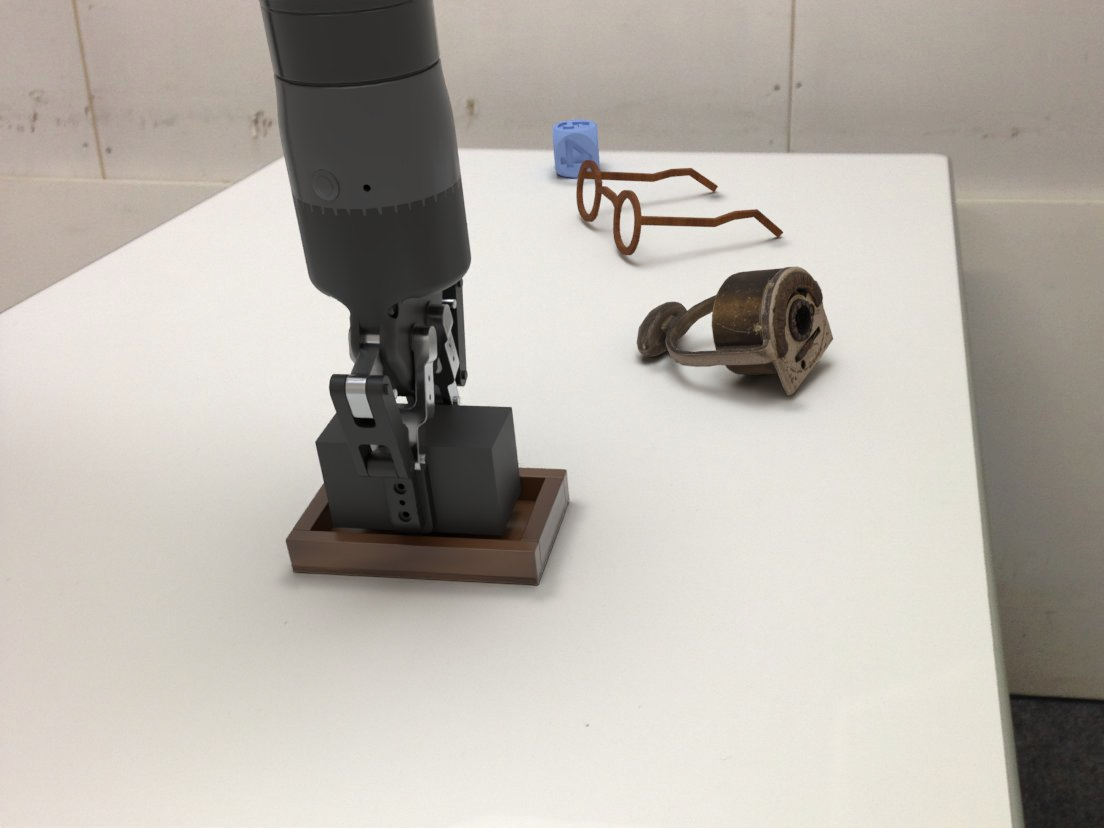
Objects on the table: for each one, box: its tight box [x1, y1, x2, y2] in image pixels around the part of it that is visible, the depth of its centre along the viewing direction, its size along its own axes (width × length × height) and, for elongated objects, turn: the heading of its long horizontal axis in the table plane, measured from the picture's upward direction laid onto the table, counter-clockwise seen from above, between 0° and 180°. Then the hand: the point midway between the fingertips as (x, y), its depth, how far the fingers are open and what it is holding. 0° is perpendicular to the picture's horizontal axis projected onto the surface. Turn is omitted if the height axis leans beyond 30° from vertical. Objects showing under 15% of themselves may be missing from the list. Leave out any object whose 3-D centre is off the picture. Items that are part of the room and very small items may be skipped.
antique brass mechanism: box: [636, 266, 834, 396], centre depth 81 cm, size 7×13×10 cm
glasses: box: [575, 160, 784, 256], centre depth 102 cm, size 13×13×5 cm
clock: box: [314, 402, 521, 535], centre depth 66 cm, size 9×4×5 cm, turn 81°
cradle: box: [285, 467, 570, 586], centre depth 68 cm, size 13×8×2 cm, turn 81°
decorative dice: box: [552, 118, 601, 179], centre depth 115 cm, size 4×4×4 cm
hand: (429, 501), depth 67 cm, fingers closed on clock, 4 cm apart
